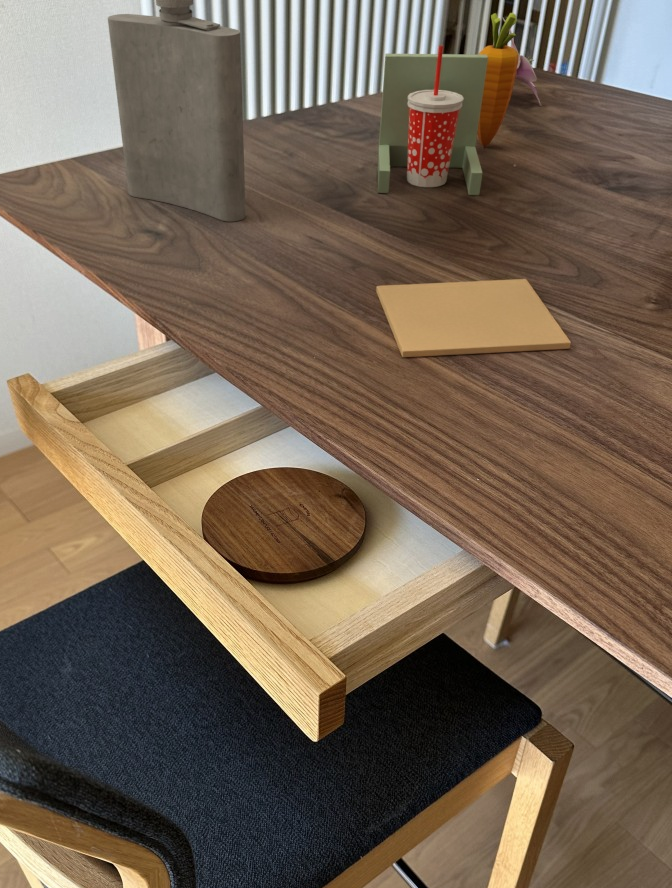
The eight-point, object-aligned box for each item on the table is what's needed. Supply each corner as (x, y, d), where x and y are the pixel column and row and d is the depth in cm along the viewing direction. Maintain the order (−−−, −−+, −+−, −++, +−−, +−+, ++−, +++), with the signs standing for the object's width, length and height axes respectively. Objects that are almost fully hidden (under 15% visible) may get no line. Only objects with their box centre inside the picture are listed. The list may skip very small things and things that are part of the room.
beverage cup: (461, 177, 100) (479, 43, 91) (439, 193, 96) (455, 55, 87) (414, 168, 103) (427, 36, 93) (391, 183, 99) (402, 47, 90)
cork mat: (525, 284, 79) (526, 278, 78) (569, 349, 70) (571, 342, 69) (376, 291, 78) (376, 285, 78) (402, 357, 69) (402, 351, 69)
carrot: (462, 140, 110) (480, 7, 100) (501, 140, 110) (522, 6, 100) (467, 153, 107) (486, 15, 97) (507, 153, 106) (530, 15, 96)
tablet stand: (471, 164, 103) (487, 54, 95) (479, 195, 96) (497, 78, 88) (377, 163, 104) (385, 53, 96) (377, 193, 97) (386, 76, 89)
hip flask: (122, 193, 97) (97, -12, 84) (146, 183, 100) (125, -18, 86) (234, 223, 90) (225, 5, 77) (256, 211, 93) (251, -2, 79)
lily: (520, 125, 118) (566, 56, 113) (452, 78, 120) (494, 8, 115) (532, 130, 128) (574, 67, 124) (469, 87, 130) (508, 23, 125)
